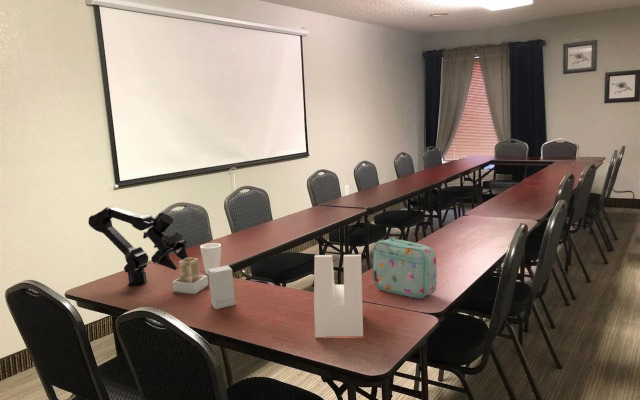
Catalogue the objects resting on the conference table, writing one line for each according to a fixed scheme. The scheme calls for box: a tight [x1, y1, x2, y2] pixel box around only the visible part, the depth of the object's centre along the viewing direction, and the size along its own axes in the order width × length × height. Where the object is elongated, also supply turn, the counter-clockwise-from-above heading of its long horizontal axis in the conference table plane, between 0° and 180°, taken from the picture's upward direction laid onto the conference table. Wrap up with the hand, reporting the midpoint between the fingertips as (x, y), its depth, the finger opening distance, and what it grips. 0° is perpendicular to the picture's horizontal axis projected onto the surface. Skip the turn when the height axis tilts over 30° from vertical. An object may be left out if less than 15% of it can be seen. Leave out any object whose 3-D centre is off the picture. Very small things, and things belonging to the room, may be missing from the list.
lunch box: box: [371, 236, 437, 299], centre depth 200 cm, size 27×10×21 cm, turn 47°
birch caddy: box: [178, 257, 201, 283], centre depth 214 cm, size 6×6×12 cm
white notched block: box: [313, 254, 364, 337], centre depth 171 cm, size 19×15×25 cm
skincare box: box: [207, 264, 236, 310], centre depth 194 cm, size 8×6×15 cm
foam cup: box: [199, 242, 222, 276], centre depth 235 cm, size 10×9×13 cm
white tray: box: [172, 274, 209, 295], centre depth 215 cm, size 10×10×4 cm
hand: (182, 266), depth 215 cm, fingers open, 9 cm apart
